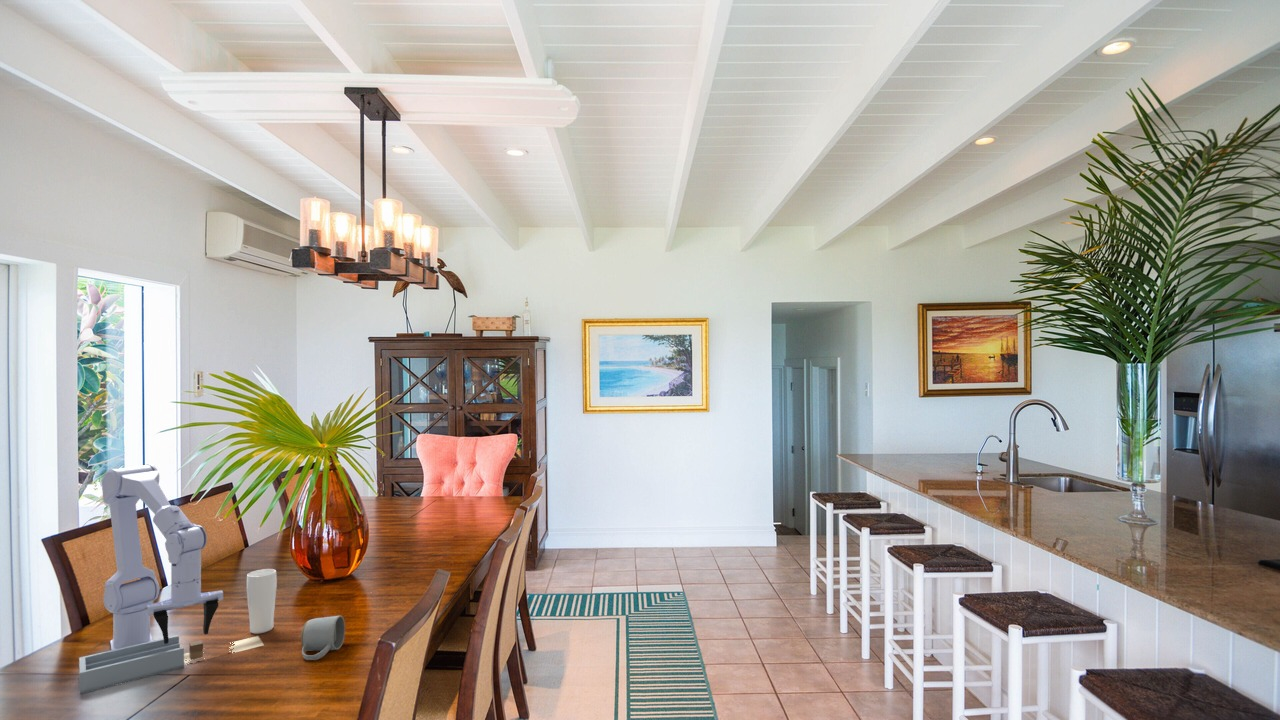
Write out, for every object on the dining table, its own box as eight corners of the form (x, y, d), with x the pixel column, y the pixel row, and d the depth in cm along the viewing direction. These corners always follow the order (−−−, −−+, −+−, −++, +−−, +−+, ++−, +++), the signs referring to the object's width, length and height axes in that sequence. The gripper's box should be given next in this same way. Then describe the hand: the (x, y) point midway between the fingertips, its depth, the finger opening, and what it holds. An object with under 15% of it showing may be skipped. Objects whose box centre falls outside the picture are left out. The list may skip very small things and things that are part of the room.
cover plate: (181, 657, 154) (181, 641, 154) (257, 638, 165) (257, 623, 165) (185, 667, 149) (185, 651, 149) (264, 647, 159) (264, 632, 159)
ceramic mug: (311, 643, 160) (311, 612, 160) (346, 641, 161) (345, 610, 161) (292, 663, 150) (292, 630, 150) (329, 661, 150) (329, 628, 150)
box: (79, 677, 143) (79, 657, 143) (178, 653, 155) (178, 634, 155) (79, 694, 136) (79, 673, 136) (183, 667, 148) (183, 648, 148)
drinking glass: (243, 630, 169) (243, 572, 169) (272, 623, 173) (272, 566, 173) (250, 637, 164) (250, 578, 164) (280, 630, 168) (279, 572, 169)
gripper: (149, 591, 144) (149, 652, 144) (225, 576, 154) (225, 634, 154) (146, 583, 150) (146, 642, 150) (220, 570, 159) (220, 625, 159)
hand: (186, 637), depth 152 cm, fingers open, 7 cm apart
